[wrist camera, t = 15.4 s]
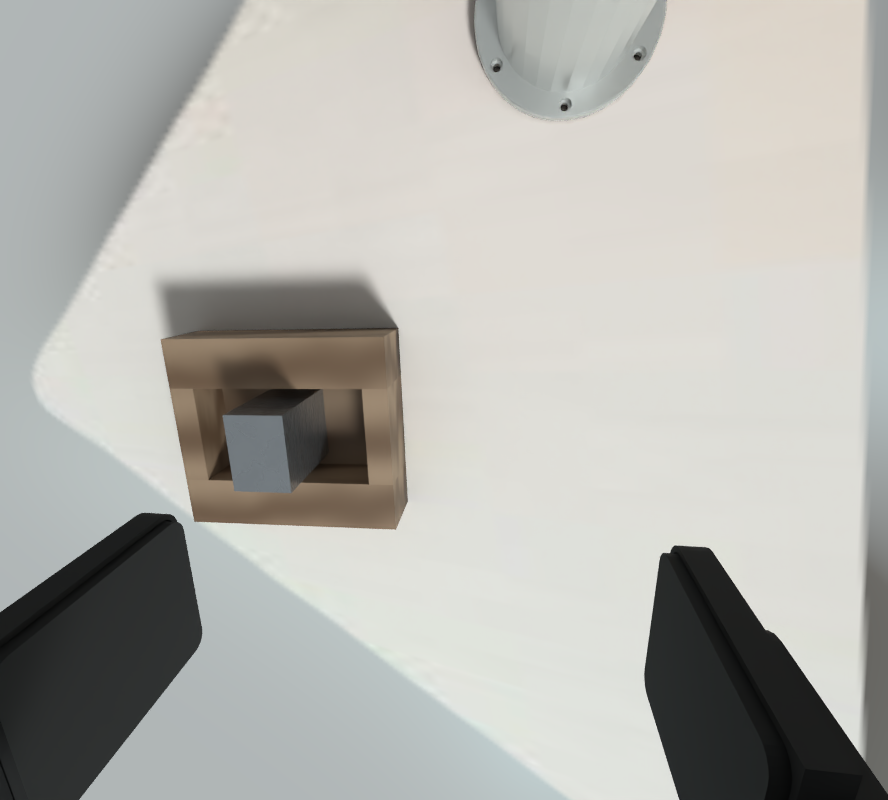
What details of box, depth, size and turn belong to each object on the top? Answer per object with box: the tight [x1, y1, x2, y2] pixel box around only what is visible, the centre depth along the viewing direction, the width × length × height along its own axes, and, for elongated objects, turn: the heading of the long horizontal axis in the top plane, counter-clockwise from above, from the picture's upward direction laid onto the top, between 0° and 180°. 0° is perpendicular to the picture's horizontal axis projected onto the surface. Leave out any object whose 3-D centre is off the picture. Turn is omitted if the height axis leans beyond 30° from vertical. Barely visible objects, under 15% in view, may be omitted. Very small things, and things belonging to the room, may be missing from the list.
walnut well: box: [161, 328, 408, 529], centre depth 42 cm, size 16×18×5 cm
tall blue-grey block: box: [223, 389, 329, 493], centre depth 40 cm, size 6×4×8 cm
